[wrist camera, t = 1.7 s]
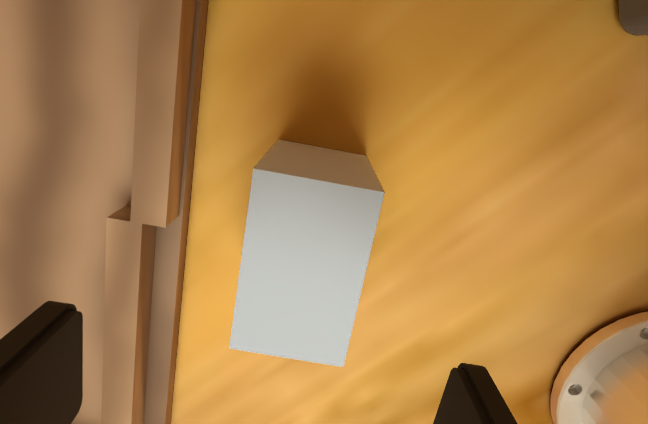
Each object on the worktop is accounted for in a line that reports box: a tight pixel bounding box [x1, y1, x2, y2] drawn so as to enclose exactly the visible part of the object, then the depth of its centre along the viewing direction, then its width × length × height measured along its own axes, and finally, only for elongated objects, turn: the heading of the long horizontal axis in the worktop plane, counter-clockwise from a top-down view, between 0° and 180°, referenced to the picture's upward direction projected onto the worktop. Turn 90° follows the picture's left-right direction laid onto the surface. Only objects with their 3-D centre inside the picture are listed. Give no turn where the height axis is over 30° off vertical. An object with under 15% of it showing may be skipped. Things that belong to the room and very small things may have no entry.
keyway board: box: [0, 0, 208, 424], centre depth 23 cm, size 16×30×4 cm, turn 170°
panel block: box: [229, 139, 385, 367], centre depth 21 cm, size 5×8×8 cm, turn 170°
